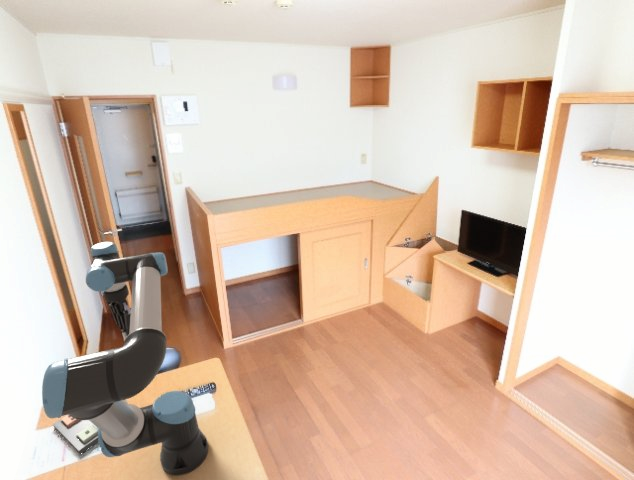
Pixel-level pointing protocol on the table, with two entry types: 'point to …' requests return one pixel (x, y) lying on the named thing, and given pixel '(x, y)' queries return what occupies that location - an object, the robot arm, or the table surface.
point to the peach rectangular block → (69, 421)
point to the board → (72, 431)
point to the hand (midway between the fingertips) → (130, 344)
